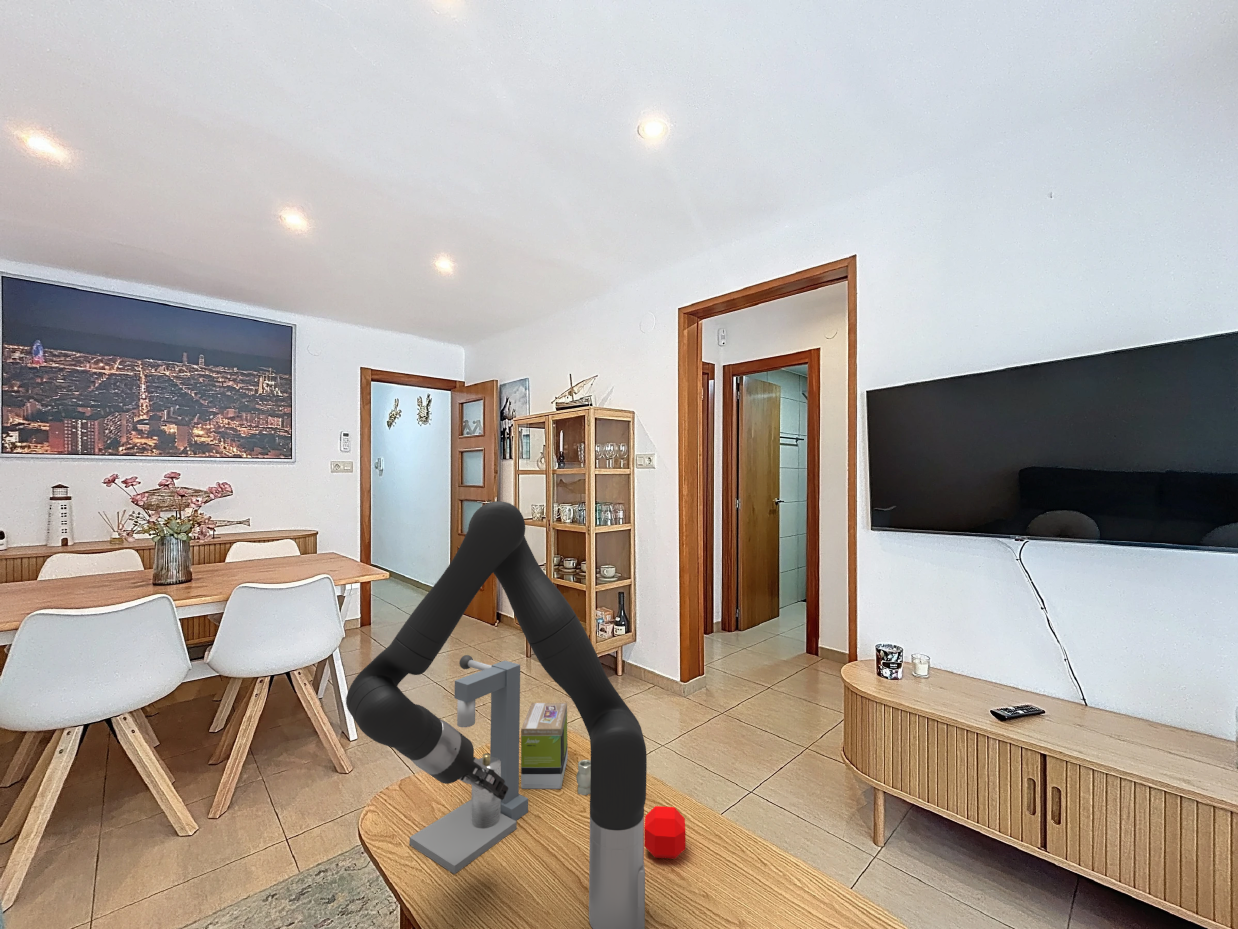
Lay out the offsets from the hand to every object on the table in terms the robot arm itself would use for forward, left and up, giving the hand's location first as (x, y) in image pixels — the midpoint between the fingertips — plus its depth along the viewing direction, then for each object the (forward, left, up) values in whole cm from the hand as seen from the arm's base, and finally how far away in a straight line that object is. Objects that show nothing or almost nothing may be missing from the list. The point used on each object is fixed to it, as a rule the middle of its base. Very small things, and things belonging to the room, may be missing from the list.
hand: (493, 788), depth 99 cm
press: (+10, -16, -16) cm, 25 cm away
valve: (-20, -25, -16) cm, 36 cm away
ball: (-33, -6, -16) cm, 37 cm away
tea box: (-6, -35, -16) cm, 39 cm away
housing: (+1, +1, -5) cm, 5 cm away
